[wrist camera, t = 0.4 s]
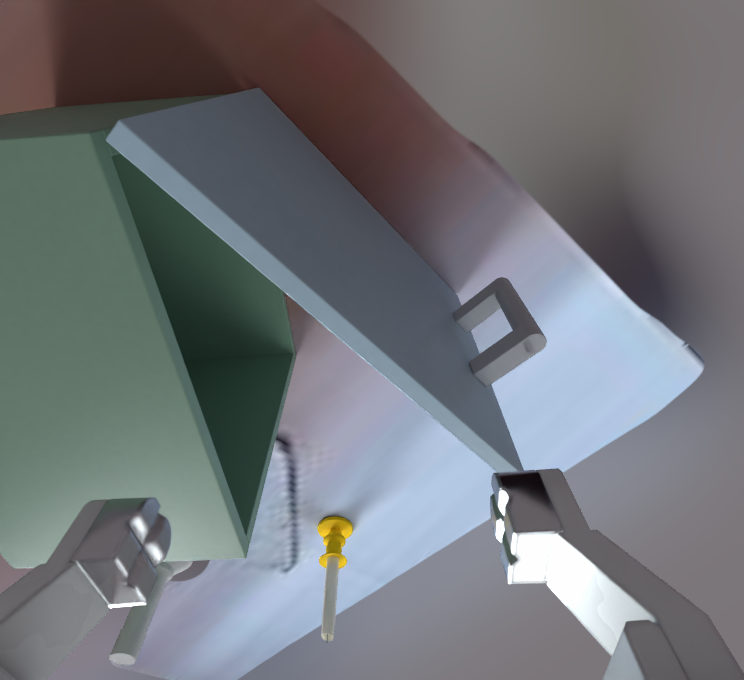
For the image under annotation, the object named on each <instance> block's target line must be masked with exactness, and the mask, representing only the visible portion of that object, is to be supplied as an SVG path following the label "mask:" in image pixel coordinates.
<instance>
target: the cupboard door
mask: <svg viewBox="0 0 744 680" xmlns="http://www.w3.org/2000/svg"><path fill="white" fill-rule="evenodd" d="M106 141H107V142H108V143H109V144H110V145H111V146H113V147H114V148H115V149H116V150H117V151H118V152H120V153H121V154H122V155H123V156H124V157H126V158H127V159H128V160H129V161H130V162H131V163H133V164H134V165H135V166H136V167H137V168H139V169H140V170H141V171H142V172H143V173H144V174H146V175H147V176H148V177H149V178H150V179H152V180H153V181H154V182H155V183H156V184H157V185H159V186H160V187H161V188H162V189H163V190H165V191H166V192H167V193H168V194H169V195H170V196H172V197H173V198H174V199H175V200H176V201H177V202H179V203H180V204H181V205H182V206H183V207H185V208H186V209H187V210H188V211H189V212H190V213H192V214H193V215H194V216H195V217H196V218H198V219H199V220H200V221H201V222H202V223H203V224H205V225H206V226H207V227H208V228H209V229H211V230H212V231H213V232H214V233H215V234H216V235H218V236H219V237H220V238H221V239H222V240H223V241H225V242H226V243H227V244H228V245H229V246H231V247H232V248H233V249H234V250H235V251H236V252H238V253H239V254H240V255H241V256H242V257H244V258H245V259H246V260H247V261H248V262H249V263H251V264H252V265H253V266H254V267H255V268H257V269H258V270H259V271H260V272H261V273H262V274H264V275H265V276H266V277H267V278H268V279H270V280H271V281H272V282H273V283H274V284H275V285H277V286H278V287H279V288H280V289H281V290H282V291H284V292H285V293H286V294H287V295H288V296H290V297H291V298H292V299H293V300H294V301H295V302H297V303H298V304H299V305H300V306H301V307H303V308H304V309H305V310H306V311H307V312H308V313H310V314H311V315H312V316H313V317H314V318H316V319H317V320H318V321H319V322H320V323H321V324H323V325H324V326H325V327H326V328H327V329H328V330H330V331H331V332H332V333H333V334H334V335H336V336H337V337H338V338H339V339H340V340H341V341H343V342H344V343H345V344H346V345H347V346H349V347H350V348H351V349H352V350H353V351H354V352H356V353H357V354H358V355H359V356H360V357H362V358H363V359H364V360H365V361H366V362H367V363H369V364H370V365H371V366H372V367H373V368H375V369H376V370H377V371H378V372H379V373H380V374H382V375H383V376H384V377H385V378H386V379H387V380H389V381H390V382H391V383H392V384H393V385H395V386H396V387H397V388H398V389H399V390H400V391H402V392H403V393H404V394H405V395H406V396H408V397H409V398H410V399H411V400H412V401H413V402H415V403H416V404H417V405H418V406H419V407H421V408H422V409H423V410H424V411H425V412H426V413H428V414H429V415H430V416H431V417H432V418H433V419H435V420H436V421H437V422H438V423H439V424H441V425H442V426H443V427H444V428H445V429H446V430H448V431H449V432H450V433H451V434H452V435H454V436H455V437H456V438H457V439H458V440H459V441H461V442H462V443H463V444H464V445H465V446H467V447H468V448H469V449H470V450H471V451H472V452H474V453H475V454H476V455H477V456H478V457H480V458H481V459H482V460H483V461H484V462H485V463H487V464H488V465H489V466H490V467H491V468H492V469H494V470H495V471H496V472H497V473H502V472H514V471H524V470H523V467H522V465H521V462H520V459H519V457H518V454H517V451H516V449H515V446H514V443H513V441H512V438H511V436H510V433H509V430H508V428H507V425H506V422H505V420H504V417H503V414H502V412H501V409H500V406H499V404H498V401H497V399H496V396H495V393H494V391H493V388H492V385H491V384H492V383H493V382H495V381H496V380H498V379H499V378H501V377H502V376H504V375H505V374H507V373H508V372H510V371H511V370H513V369H514V368H516V367H517V366H519V365H520V364H522V363H523V362H525V361H526V360H528V359H529V358H531V357H532V356H534V355H535V354H536V353H538V352H540V351H541V350H543V349H544V347H545V346H546V342H547V341H546V338H545V336H544V334H543V333H542V331H541V330H540V328H539V327H538V325H537V323H536V322H535V320H534V319H533V317H532V316H531V314H530V312H529V311H528V309H527V308H526V306H525V305H524V303H523V302H522V300H521V298H520V297H519V295H518V294H517V292H516V291H515V289H514V287H513V286H512V284H511V283H510V281H509V280H508V279H507V278H503V277H502V278H498V279H496V280H495V281H493V282H492V283H491V284H489V285H488V286H487V287H486V288H484V289H483V290H482V291H480V292H479V293H478V294H477V295H475V296H474V297H473V298H471V299H470V300H469V301H468V302H466V303H465V304H464V305H462V306H461V303H460V301H459V298H458V296H457V295H456V294H455V292H454V291H453V290H452V289H451V288H450V287H449V286H448V285H447V284H446V283H445V282H444V281H443V280H442V279H441V278H440V277H439V276H438V275H437V274H436V273H435V271H434V270H433V269H432V268H431V267H430V266H429V265H428V264H427V263H426V262H425V261H424V260H423V259H422V258H421V257H420V256H419V255H418V254H417V253H416V252H415V250H414V249H413V248H412V247H411V246H410V245H409V244H408V243H407V242H406V241H405V240H404V239H403V238H402V237H401V236H400V235H399V234H398V233H397V232H396V231H395V229H394V228H393V227H392V226H391V225H390V224H389V223H388V222H387V221H386V220H385V219H384V218H383V217H382V216H381V215H380V214H379V213H378V212H377V211H376V210H375V208H374V207H373V206H372V205H371V204H370V203H369V202H368V201H367V200H366V199H365V198H364V197H363V196H362V195H361V194H360V193H359V192H358V191H357V190H356V189H355V187H354V186H353V185H352V184H351V183H350V182H349V181H348V180H347V179H346V178H345V177H344V176H343V175H342V174H341V173H340V172H339V171H338V170H337V169H336V168H335V166H334V165H333V164H332V163H331V162H330V161H329V160H328V159H327V158H326V157H325V156H324V155H323V154H322V153H321V152H320V151H319V150H318V149H317V148H316V147H315V145H314V144H313V143H312V142H311V141H310V140H309V139H308V138H307V137H306V136H305V135H304V134H303V133H302V132H301V131H300V130H299V129H298V128H297V127H296V126H295V124H294V123H293V122H292V121H291V120H290V119H289V118H288V117H287V116H286V115H285V114H284V113H283V112H282V111H281V110H280V109H279V108H278V107H277V106H276V105H275V103H274V102H273V101H272V100H271V99H270V98H269V97H268V96H267V95H266V94H265V93H264V92H263V91H262V90H261V89H260V88H259V87H258V88H254V89H250V90H245V91H241V92H237V93H233V94H228V95H224V96H220V97H215V98H211V99H207V100H202V101H198V102H194V103H189V104H185V105H181V106H176V107H172V108H168V109H163V110H159V111H155V112H151V113H146V114H142V115H138V116H133V117H129V118H125V119H120V120H118V121H117V123H116V124H115V126H114V127H113V129H112V130H111V132H110V133H109V135H108V136H107V138H106ZM500 308H501V309H502V311H503V312H504V314H505V316H506V318H507V320H508V322H509V324H510V325H511V327H512V329H513V331H512V332H510V333H509V334H508V335H506V336H505V337H503V338H502V339H500V340H499V341H498V342H496V343H495V344H493V345H492V346H491V347H489V348H488V349H486V350H485V351H484V352H482V353H481V354H479V351H478V348H477V346H476V343H475V340H474V338H473V335H472V332H471V330H472V329H473V328H475V327H476V326H477V325H479V324H480V323H482V322H483V321H484V320H486V319H487V318H488V317H490V316H491V315H492V314H494V313H495V312H496V311H498V310H499V309H500Z"/></svg>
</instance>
